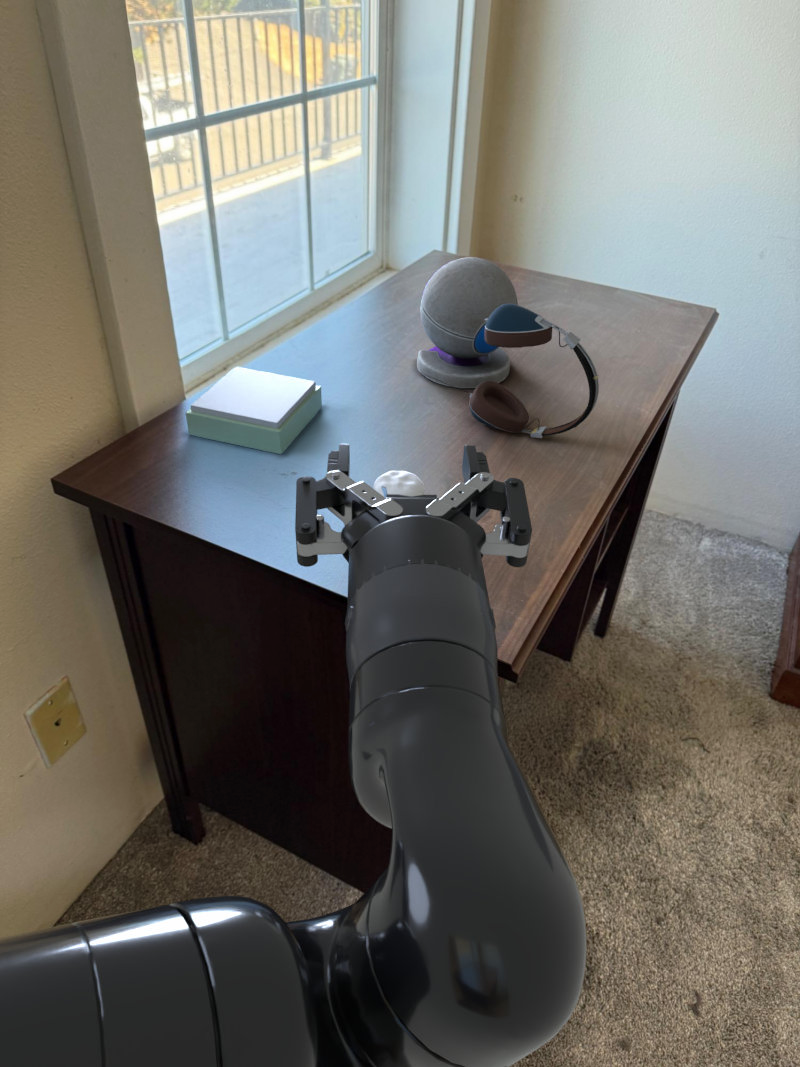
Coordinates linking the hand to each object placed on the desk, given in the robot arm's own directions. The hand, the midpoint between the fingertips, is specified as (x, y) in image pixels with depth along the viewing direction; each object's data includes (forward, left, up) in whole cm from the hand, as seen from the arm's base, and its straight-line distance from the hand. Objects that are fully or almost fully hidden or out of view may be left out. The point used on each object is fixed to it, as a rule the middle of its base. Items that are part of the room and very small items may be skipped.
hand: (406, 455), depth 51 cm
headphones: (0, +40, -19) cm, 44 cm away
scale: (-28, +30, -19) cm, 45 cm away
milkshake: (-4, +11, -19) cm, 22 cm away
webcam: (-8, +54, -19) cm, 57 cm away
